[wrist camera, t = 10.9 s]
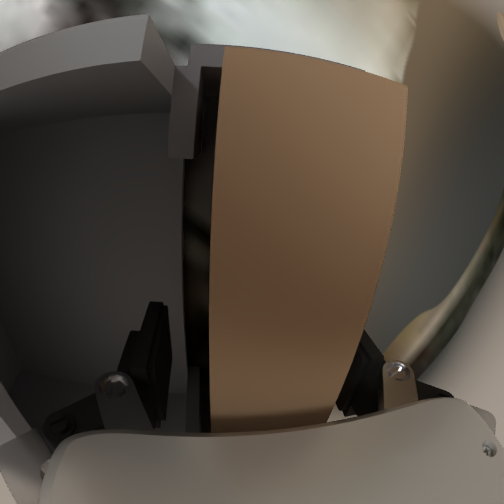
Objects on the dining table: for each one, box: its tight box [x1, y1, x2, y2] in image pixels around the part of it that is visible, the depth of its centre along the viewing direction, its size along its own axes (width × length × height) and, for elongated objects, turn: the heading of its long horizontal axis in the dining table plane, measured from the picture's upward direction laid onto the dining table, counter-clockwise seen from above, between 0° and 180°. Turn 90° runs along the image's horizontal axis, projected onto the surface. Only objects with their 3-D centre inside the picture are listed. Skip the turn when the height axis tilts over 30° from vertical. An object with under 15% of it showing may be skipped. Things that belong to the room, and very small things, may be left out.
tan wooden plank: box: [209, 46, 408, 433], centre depth 12 cm, size 18×4×11 cm, turn 176°
